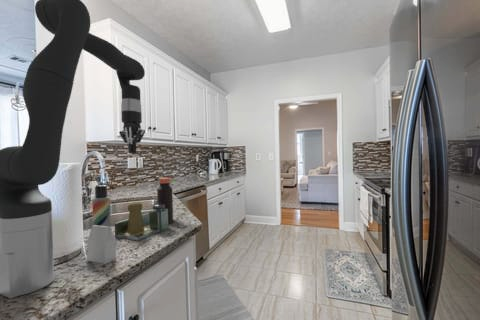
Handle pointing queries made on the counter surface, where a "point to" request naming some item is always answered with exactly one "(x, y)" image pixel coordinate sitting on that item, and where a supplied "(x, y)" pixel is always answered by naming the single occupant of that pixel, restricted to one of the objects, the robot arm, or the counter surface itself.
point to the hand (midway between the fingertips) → (132, 153)
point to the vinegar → (165, 196)
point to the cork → (135, 218)
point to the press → (151, 223)
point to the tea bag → (101, 245)
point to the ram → (158, 207)
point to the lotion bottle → (101, 207)
